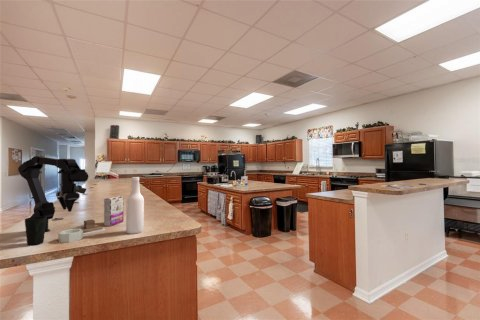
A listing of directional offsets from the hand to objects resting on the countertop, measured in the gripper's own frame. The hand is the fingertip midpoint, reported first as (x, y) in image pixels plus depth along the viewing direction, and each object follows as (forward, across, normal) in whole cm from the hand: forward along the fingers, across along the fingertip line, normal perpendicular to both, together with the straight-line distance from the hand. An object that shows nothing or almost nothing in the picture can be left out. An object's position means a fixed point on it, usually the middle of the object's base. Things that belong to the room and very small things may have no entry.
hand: (67, 210), depth 122 cm
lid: (+11, -5, -9) cm, 15 cm away
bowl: (+12, -15, +2) cm, 19 cm away
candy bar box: (+12, 0, -24) cm, 27 cm away
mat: (+12, -5, -9) cm, 16 cm away
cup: (+12, -9, +14) cm, 21 cm away
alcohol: (+12, -27, -24) cm, 38 cm away
